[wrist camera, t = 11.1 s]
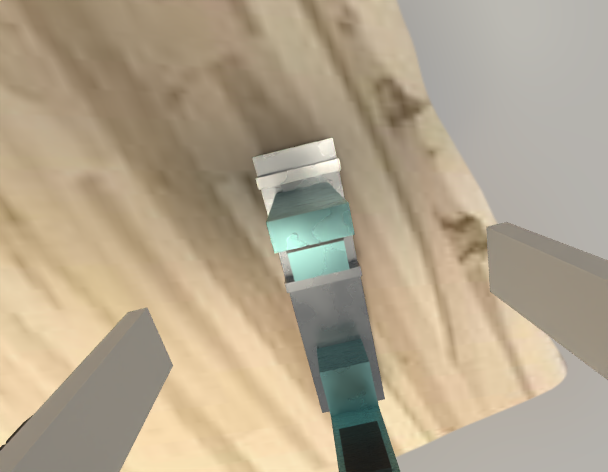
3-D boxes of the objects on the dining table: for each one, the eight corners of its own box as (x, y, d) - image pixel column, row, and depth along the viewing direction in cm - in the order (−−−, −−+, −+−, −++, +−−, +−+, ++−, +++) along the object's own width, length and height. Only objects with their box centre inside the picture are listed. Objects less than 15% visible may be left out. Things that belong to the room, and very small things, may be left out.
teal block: (275, 193, 23) (266, 222, 15) (327, 181, 23) (348, 202, 15) (294, 266, 25) (296, 329, 16) (343, 254, 25) (369, 312, 16)
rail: (255, 156, 24) (227, 165, 14) (329, 138, 24) (358, 132, 14) (320, 396, 31) (335, 524, 21) (379, 383, 31) (424, 506, 20)
